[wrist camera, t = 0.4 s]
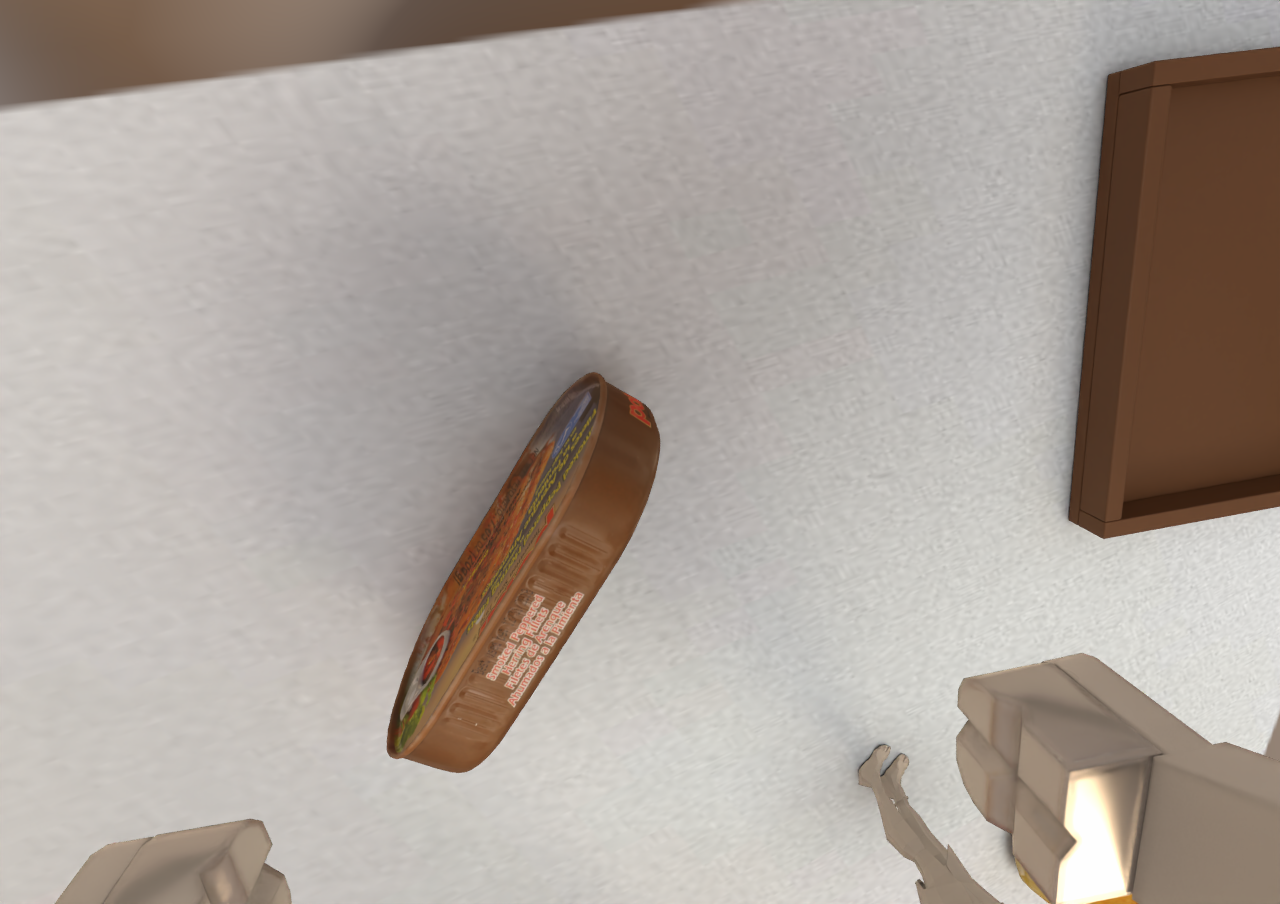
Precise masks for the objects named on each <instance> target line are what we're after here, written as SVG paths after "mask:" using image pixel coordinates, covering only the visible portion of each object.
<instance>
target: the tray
mask: <svg viewBox="0 0 1280 904" xmlns="http://www.w3.org/2000/svg"><path fill="white" fill-rule="evenodd" d="M1279 506H1280V47H1273V48H1264V49H1255V50H1247V51H1238V52H1229V53H1221V54H1212V55H1203V56H1194V57H1186V58H1177V59H1168V60H1160V61H1154V62H1150V63H1147V64H1143V65H1140V66H1136V67H1133V68H1130V69H1126V70H1123V71H1119V72H1116V73H1112V74H1110V75H1109V76H1108V85H1107V96H1106V107H1105V118H1104V130H1103V141H1102V152H1101V163H1100V174H1099V186H1098V197H1097V208H1096V219H1095V230H1094V242H1093V253H1092V264H1091V275H1090V286H1089V298H1088V309H1087V320H1086V331H1085V342H1084V353H1083V365H1082V376H1081V387H1080V398H1079V409H1078V421H1077V432H1076V443H1075V454H1074V465H1073V477H1072V488H1071V499H1070V510H1069V521H1071V522H1073V523H1075V524H1077V525H1079V526H1080V527H1082V528H1084V529H1086V530H1088V531H1090V532H1092V533H1093V534H1095V535H1097V536H1099V537H1101V538H1103V539H1105V538H1111V537H1116V536H1122V535H1127V534H1133V533H1138V532H1144V531H1149V530H1154V529H1160V528H1165V527H1171V526H1176V525H1182V524H1187V523H1192V522H1198V521H1203V520H1209V519H1214V518H1220V517H1225V516H1231V515H1236V514H1241V513H1247V512H1252V511H1258V510H1263V509H1269V508H1274V507H1279Z"/></svg>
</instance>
